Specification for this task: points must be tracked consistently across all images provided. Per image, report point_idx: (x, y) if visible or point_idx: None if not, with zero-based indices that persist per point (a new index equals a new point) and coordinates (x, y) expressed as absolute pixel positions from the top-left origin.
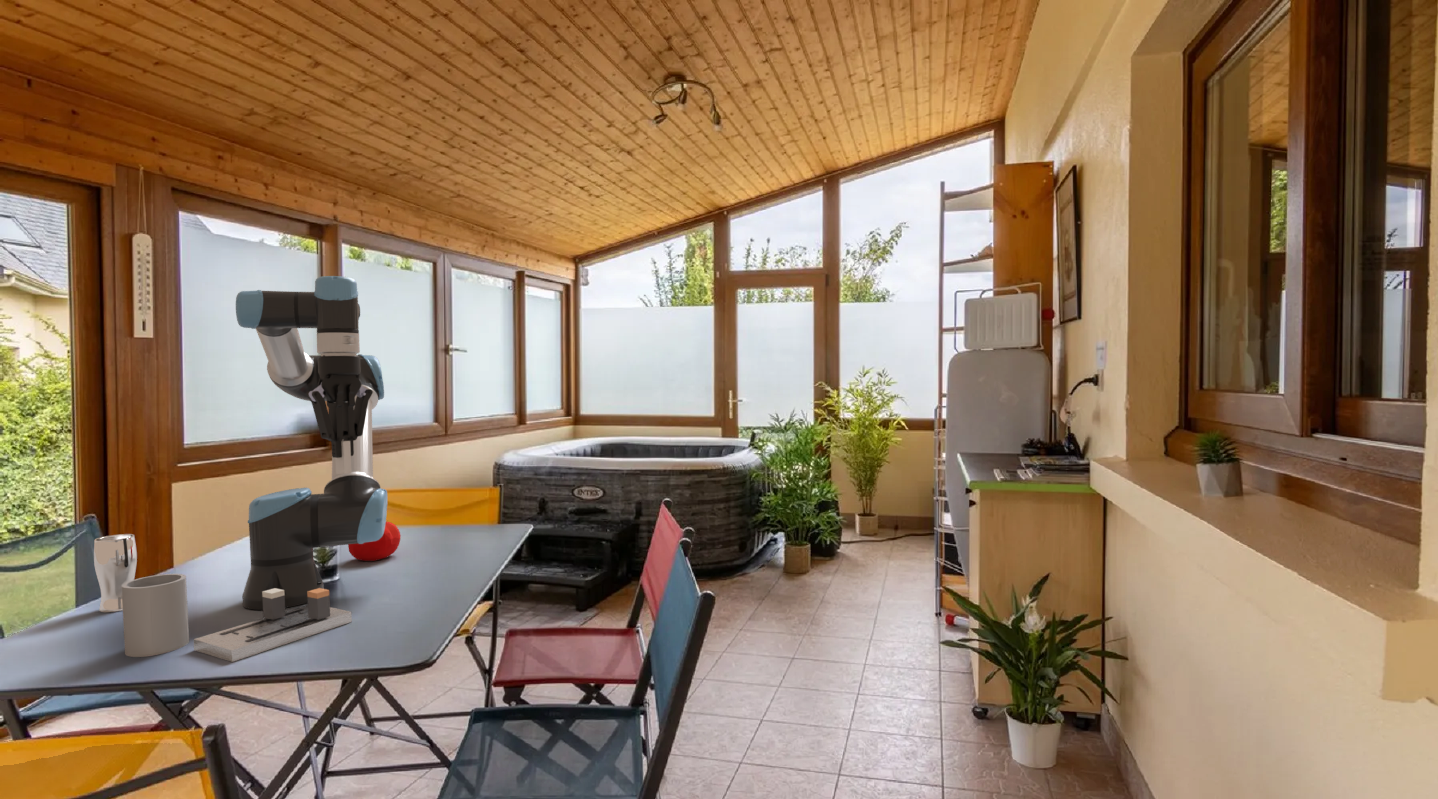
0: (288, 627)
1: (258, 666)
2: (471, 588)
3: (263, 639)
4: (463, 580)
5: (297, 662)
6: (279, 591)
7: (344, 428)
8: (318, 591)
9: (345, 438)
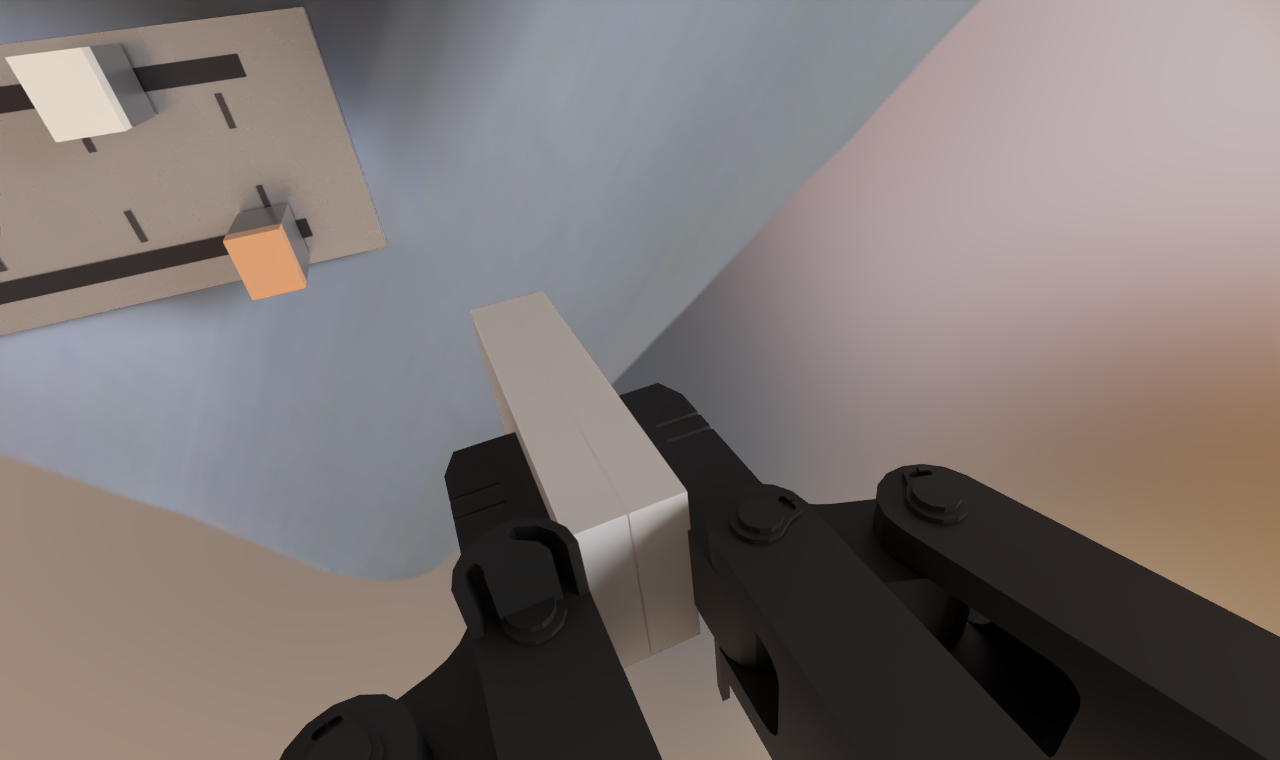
0: (152, 259)
1: (41, 422)
2: (759, 208)
3: (49, 318)
4: (804, 104)
5: (159, 457)
6: (100, 134)
7: (809, 741)
8: (263, 277)
9: (709, 592)
